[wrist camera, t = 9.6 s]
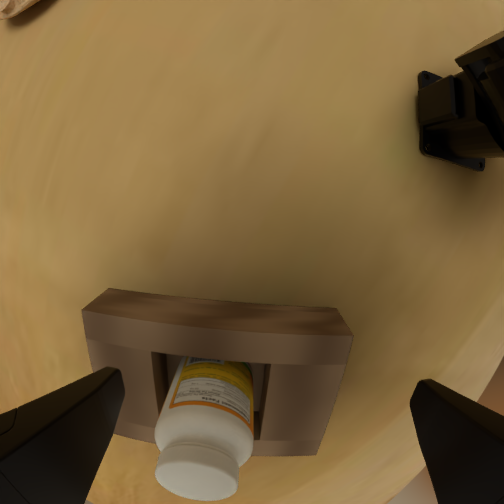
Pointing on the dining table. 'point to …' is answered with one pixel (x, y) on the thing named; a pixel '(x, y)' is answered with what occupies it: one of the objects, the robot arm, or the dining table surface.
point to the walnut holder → (223, 348)
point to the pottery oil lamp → (14, 7)
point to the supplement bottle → (205, 428)
